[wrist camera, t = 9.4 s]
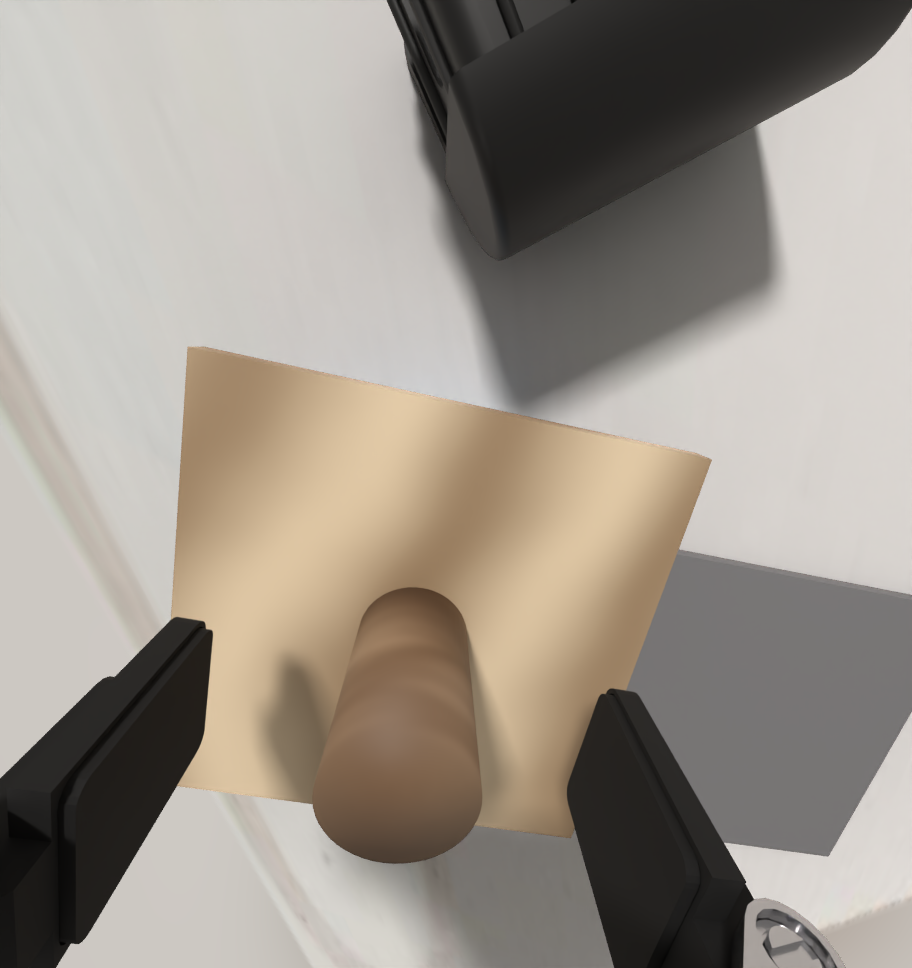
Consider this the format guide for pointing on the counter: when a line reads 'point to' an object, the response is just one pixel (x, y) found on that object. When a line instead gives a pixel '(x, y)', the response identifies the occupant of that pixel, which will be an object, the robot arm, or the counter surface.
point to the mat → (776, 694)
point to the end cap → (611, 91)
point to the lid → (410, 597)
